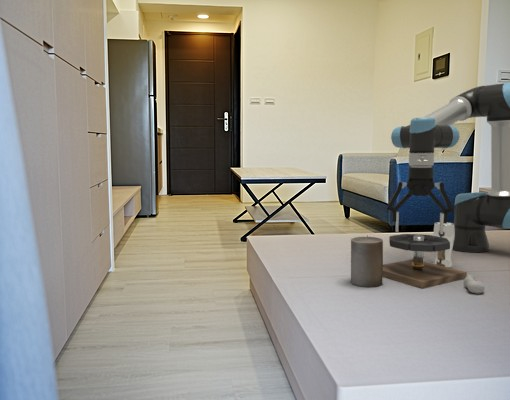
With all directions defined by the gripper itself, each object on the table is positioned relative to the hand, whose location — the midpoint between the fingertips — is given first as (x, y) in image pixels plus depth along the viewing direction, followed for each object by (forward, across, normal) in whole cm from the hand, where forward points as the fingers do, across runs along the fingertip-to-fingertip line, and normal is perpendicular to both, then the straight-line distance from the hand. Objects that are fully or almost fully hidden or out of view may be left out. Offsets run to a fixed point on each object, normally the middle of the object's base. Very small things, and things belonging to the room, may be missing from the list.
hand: (418, 232), depth 153 cm
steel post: (+12, 0, 0) cm, 12 cm away
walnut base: (+14, 0, 0) cm, 14 cm away
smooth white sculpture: (+15, +15, -14) cm, 25 cm away
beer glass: (+14, +10, +16) cm, 23 cm away
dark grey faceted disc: (+4, 0, 0) cm, 4 cm away
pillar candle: (+14, -16, -12) cm, 25 cm away
